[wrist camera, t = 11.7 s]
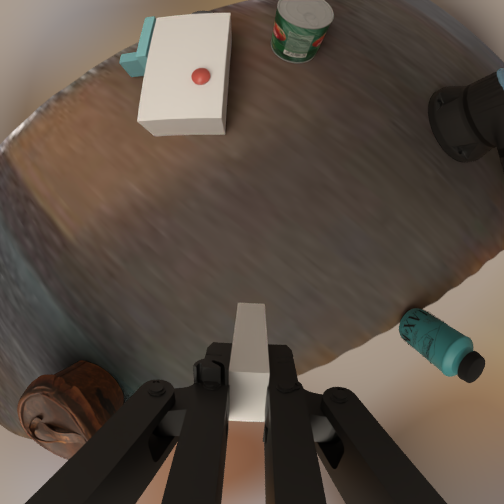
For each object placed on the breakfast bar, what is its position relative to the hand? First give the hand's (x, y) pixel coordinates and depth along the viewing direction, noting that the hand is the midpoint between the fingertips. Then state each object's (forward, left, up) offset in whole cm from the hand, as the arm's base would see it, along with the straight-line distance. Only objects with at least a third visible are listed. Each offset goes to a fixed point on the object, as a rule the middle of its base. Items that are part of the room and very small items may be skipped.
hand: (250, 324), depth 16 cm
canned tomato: (-21, -30, -27) cm, 45 cm away
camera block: (-3, -28, -27) cm, 39 cm away
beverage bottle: (-22, +23, -27) cm, 42 cm away
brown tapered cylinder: (+38, +12, -27) cm, 48 cm away
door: (+2, -37, -27) cm, 46 cm away
